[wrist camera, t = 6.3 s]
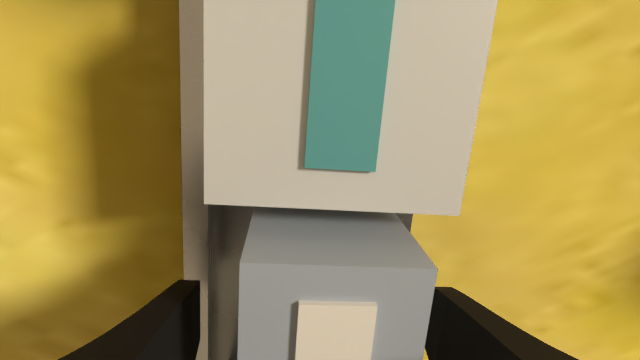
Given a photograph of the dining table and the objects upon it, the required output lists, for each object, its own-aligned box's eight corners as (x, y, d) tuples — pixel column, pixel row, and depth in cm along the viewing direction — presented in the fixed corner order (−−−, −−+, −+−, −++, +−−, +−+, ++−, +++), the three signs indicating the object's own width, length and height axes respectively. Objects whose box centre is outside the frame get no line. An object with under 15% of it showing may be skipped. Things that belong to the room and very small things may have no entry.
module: (405, 170, 14) (462, 218, 9) (232, 161, 13) (202, 206, 9) (430, -16, 12) (514, -69, 8) (235, -36, 11) (201, -106, 7)
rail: (367, 466, 19) (376, 516, 17) (197, 469, 18) (185, 522, 16) (436, -39, 13) (465, -60, 11) (193, -66, 12) (173, -94, 10)
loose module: (358, 333, 15) (402, 497, 9) (255, 331, 15) (233, 501, 9) (375, 187, 14) (440, 272, 8) (261, 181, 13) (238, 266, 7)
